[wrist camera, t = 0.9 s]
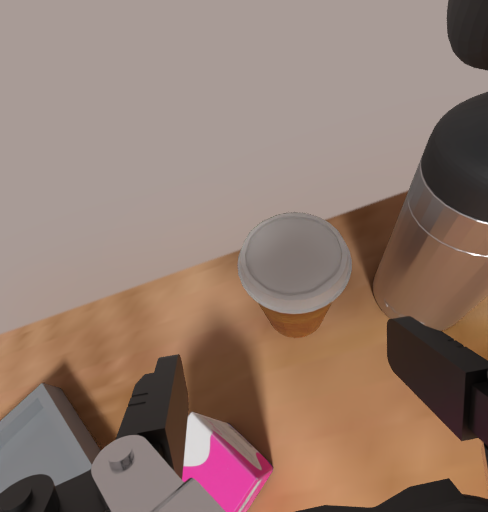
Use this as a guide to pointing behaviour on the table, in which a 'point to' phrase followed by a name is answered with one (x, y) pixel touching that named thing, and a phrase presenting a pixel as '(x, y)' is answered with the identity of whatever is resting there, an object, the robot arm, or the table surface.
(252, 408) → the table surface
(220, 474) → the supplement box
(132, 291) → the table surface
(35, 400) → the tray
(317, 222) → the disposable coffee cup
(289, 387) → the table surface
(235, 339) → the table surface
